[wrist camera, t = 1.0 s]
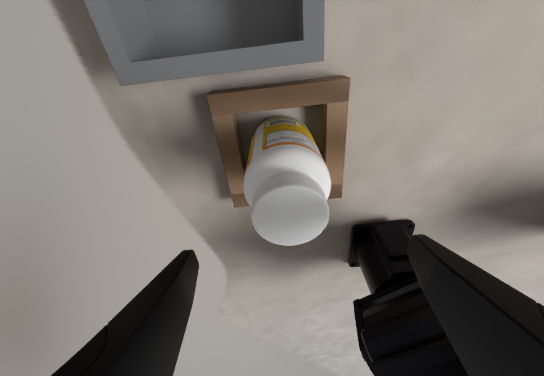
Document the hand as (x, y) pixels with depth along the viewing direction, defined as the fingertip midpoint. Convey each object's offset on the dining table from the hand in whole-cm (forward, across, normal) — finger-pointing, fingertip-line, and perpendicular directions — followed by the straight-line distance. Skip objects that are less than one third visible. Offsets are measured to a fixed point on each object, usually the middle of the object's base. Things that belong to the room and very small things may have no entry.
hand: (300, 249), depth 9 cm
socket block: (+12, 0, 0) cm, 12 cm away
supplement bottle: (+12, 0, 0) cm, 12 cm away
